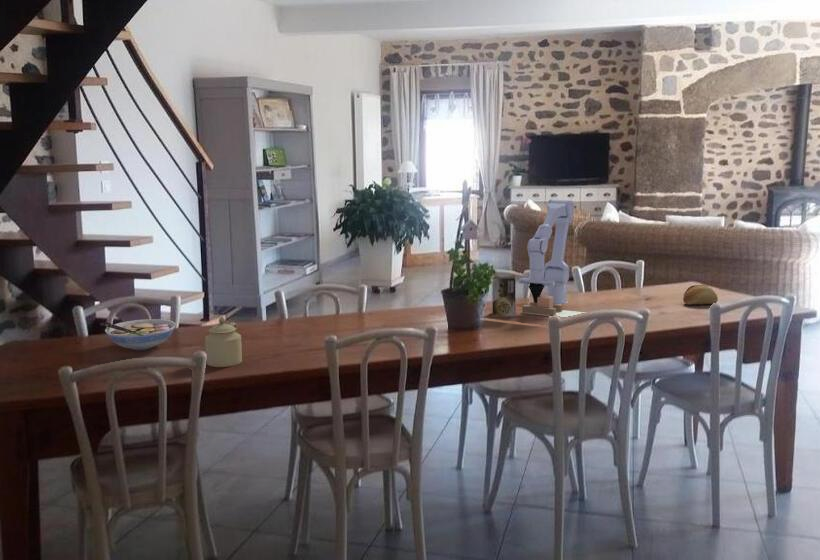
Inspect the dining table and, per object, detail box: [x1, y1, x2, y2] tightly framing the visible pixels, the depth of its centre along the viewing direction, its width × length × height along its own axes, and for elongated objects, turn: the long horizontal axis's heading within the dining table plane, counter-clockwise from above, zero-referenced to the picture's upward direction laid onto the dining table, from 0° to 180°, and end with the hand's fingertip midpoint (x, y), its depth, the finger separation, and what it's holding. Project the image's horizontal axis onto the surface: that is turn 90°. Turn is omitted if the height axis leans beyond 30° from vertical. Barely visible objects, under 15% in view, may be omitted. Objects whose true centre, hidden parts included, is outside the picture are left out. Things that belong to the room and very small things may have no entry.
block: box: [537, 295, 554, 308], centre depth 298 cm, size 4×5×6 cm
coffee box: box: [491, 274, 517, 317], centre depth 294 cm, size 9×6×16 cm
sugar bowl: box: [204, 315, 243, 368], centre depth 238 cm, size 15×11×15 cm
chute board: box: [521, 300, 586, 318], centre depth 296 cm, size 12×24×4 cm, turn 59°
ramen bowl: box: [99, 318, 176, 351], centre depth 256 cm, size 25×23×8 cm
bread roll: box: [682, 284, 719, 306], centre depth 313 cm, size 10×15×8 cm, turn 103°
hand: (536, 302), depth 300 cm, fingers closed
